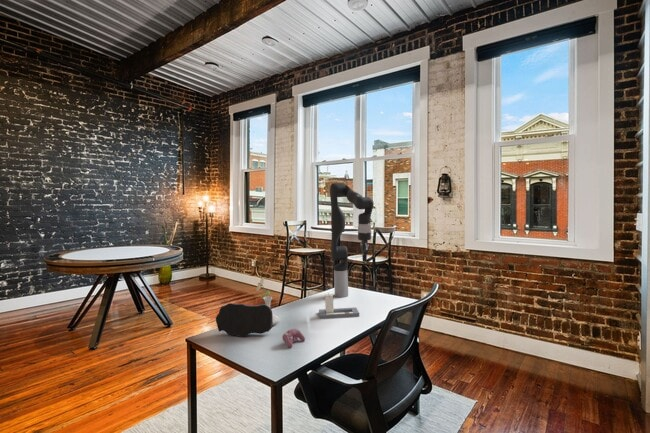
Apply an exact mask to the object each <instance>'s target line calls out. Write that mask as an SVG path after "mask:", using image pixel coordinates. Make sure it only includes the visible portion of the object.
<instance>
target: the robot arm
mask: <svg viewBox="0 0 650 433" xmlns="http://www.w3.org/2000/svg"><path fill="white" fill-rule="evenodd" d="M343 197H346V200H347V201H348V202H350V203H351V204H353V205H354V207H355V208H356V209H357V210H364V211H363V212H361V213H359V214H358V217H357V220H358V222H357V223H358V225H357V239H358V241H361V242H360V243H359V246H360V250H361V255H362V256H361V257H362V262H368V258H367V257H368V254H369V251H370V245H369V241H371V239H372V225H371V224H372V223H371V220H372V218H371V216H372V213H373V210H374V204H375V203H374V199H373V198H372V197H371V196H362V194H361V193H359V192H357V191H354V190H353V189H352V188H351V187H350V186H348V184H346V183H344V182H335V183H334V182H333V183H331V185H330V186H329V198H330V209H331V210H330V212H331V213H330V215H331V217H330V224H331V225H330V227H331V243H330V244H331V246H330V256H331V259H332V261H340V262H339V263H337V264H335V265H334V266H333V283H334V285H333V286H334V288H333V289H334V296H335V297H337V298H345V297H348V296H349V277H348V276H349V275H348V271H349V270H348V266H349V264H348V258H349V255H348V254H349V252H348V251H349V250H348V247H347V246H345V245H338V241H339V239H340V236H341V235H342V233H343V232H344V230H345V228H346V217H345V214H344V212H343V210H342V209H341V208H340V205H339V202H338V198H343Z"/></svg>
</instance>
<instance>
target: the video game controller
mask: <svg viewBox="0 0 650 433" xmlns="http://www.w3.org/2000/svg"><path fill="white" fill-rule="evenodd" d="M298 339H299V340H300V341H301V342H305V341H306V338H305V336H304V335H303V333H302V332H301V331H300V330H299V329H298V328H293V329H289V330H287V331H286V332H285V333H283V335H282V341H283V342H284V343H285V344H286V346H287V347H288V348H290V349H291V348H292V347H293V343H296V342H298V341H299V340H298Z"/></svg>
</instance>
